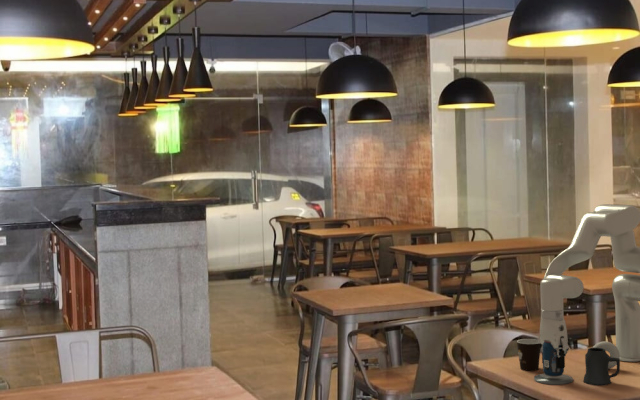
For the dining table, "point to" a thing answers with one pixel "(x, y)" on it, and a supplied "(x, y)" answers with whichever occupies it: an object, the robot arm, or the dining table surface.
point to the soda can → (550, 360)
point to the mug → (599, 367)
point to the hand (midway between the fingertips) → (553, 365)
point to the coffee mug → (528, 354)
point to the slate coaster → (553, 379)
